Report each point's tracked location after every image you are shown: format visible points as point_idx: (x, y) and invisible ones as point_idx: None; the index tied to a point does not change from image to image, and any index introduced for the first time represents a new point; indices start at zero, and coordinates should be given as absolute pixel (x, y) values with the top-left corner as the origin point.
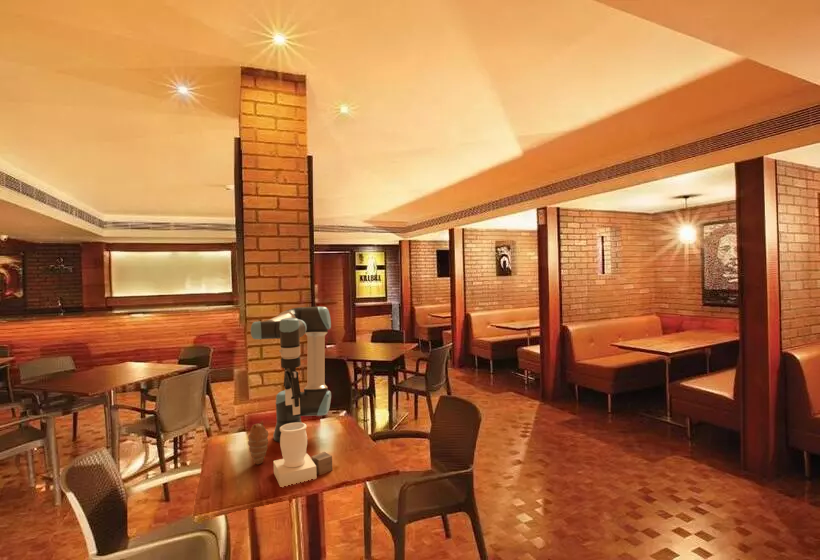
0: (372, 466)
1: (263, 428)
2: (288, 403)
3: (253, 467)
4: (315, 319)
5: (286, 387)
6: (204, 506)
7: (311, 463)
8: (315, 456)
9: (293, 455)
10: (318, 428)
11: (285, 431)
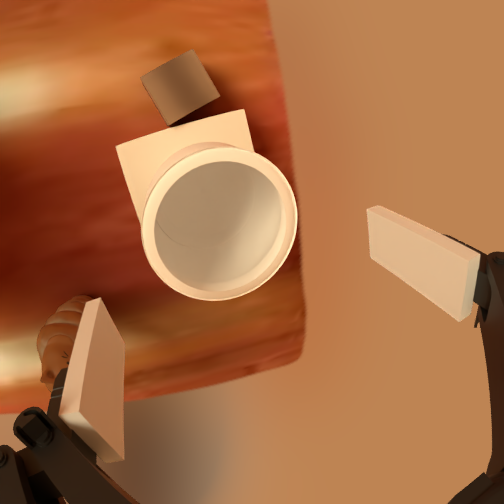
0: None
1: (65, 359)
2: (115, 335)
3: (108, 312)
4: None
5: (106, 475)
6: (287, 359)
7: (216, 125)
8: (177, 110)
9: (253, 196)
10: None
11: (280, 263)
